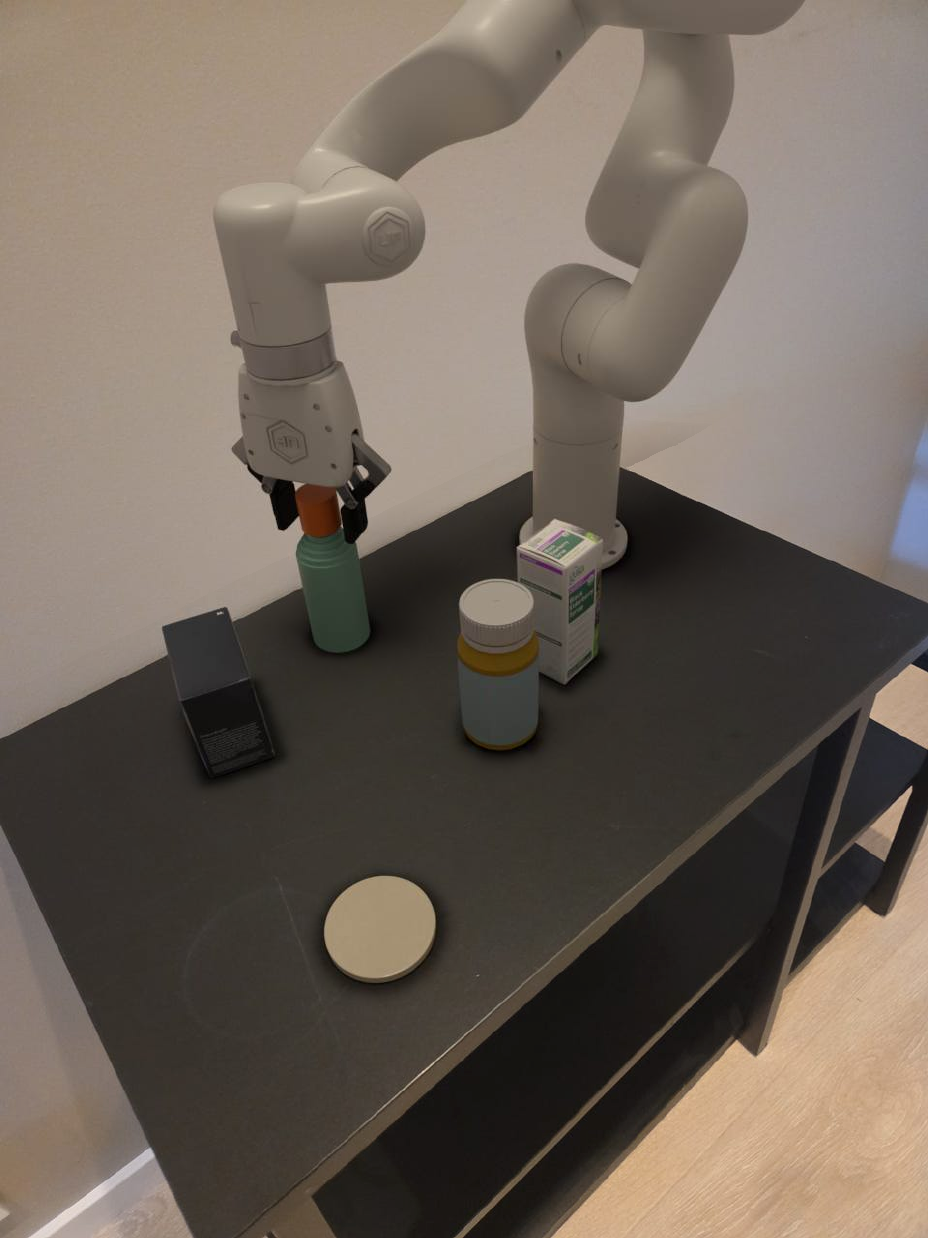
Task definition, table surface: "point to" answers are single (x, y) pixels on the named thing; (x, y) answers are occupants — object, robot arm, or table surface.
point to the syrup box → (563, 595)
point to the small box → (217, 692)
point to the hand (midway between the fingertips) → (322, 528)
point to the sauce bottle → (333, 591)
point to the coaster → (380, 929)
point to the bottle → (498, 664)
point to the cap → (318, 510)
